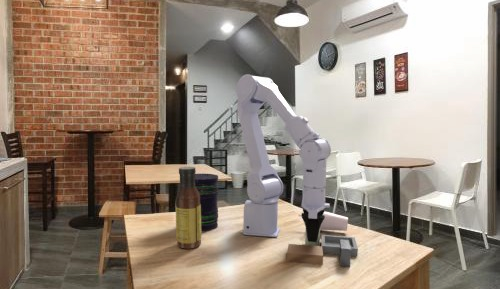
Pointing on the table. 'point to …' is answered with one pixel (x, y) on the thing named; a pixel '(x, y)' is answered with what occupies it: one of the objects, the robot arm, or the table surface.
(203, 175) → the storage jar
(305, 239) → the sage dowel
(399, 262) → the table surface
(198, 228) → the sauce bottle
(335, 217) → the smoothie
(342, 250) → the post
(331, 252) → the slate tray
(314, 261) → the tan rectangular block
